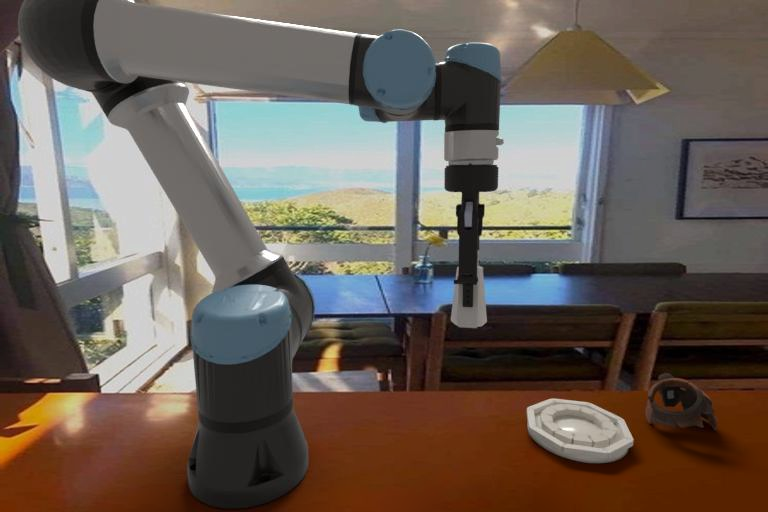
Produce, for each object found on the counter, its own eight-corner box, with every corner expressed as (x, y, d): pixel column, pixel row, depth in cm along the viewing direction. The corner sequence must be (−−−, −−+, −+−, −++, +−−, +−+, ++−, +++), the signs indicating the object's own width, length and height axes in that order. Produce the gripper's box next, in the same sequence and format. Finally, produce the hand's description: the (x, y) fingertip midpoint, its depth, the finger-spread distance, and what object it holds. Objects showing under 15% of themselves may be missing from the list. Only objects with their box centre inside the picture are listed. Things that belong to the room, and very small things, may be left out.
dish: (530, 454, 65) (531, 441, 65) (524, 405, 78) (525, 394, 78) (641, 470, 62) (642, 456, 61) (615, 415, 75) (617, 404, 75)
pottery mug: (736, 445, 68) (725, 406, 65) (669, 464, 71) (655, 427, 68) (691, 388, 79) (680, 352, 76) (634, 406, 82) (621, 372, 78)
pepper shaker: (488, 328, 68) (490, 253, 66) (450, 327, 69) (451, 253, 67) (485, 316, 73) (487, 247, 71) (450, 315, 74) (451, 246, 72)
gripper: (499, 162, 57) (494, 344, 61) (498, 162, 74) (494, 303, 79) (437, 164, 59) (436, 340, 63) (450, 163, 76) (449, 301, 81)
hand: (468, 319), depth 71 cm, fingers closed on pepper shaker, 5 cm apart
